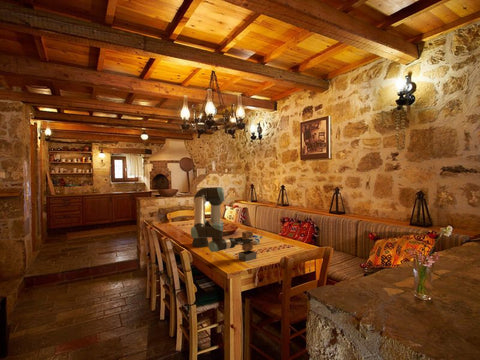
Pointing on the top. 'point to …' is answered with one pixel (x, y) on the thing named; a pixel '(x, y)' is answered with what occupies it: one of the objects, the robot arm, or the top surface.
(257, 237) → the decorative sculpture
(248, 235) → the brown wooden block
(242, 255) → the endcap
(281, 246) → the top surface
